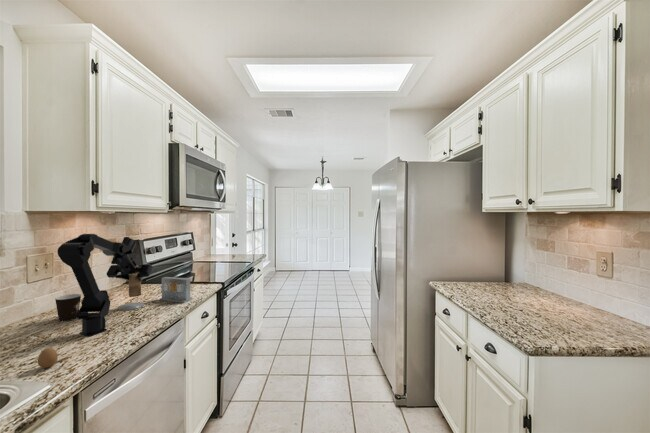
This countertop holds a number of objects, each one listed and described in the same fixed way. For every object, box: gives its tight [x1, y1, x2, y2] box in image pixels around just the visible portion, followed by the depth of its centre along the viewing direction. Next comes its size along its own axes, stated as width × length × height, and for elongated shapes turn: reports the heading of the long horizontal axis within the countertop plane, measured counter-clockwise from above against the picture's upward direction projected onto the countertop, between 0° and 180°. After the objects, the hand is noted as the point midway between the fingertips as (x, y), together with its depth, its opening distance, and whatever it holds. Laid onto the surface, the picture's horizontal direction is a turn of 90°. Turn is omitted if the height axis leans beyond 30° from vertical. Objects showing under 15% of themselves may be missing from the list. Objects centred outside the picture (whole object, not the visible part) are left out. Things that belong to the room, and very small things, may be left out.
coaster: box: [117, 301, 145, 312], centre depth 144 cm, size 11×11×1 cm
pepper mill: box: [128, 265, 142, 298], centre depth 144 cm, size 5×5×16 cm
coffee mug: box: [54, 293, 82, 322], centre depth 129 cm, size 12×9×10 cm
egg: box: [37, 347, 59, 369], centre depth 88 cm, size 4×4×6 cm
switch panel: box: [159, 276, 193, 304], centre depth 155 cm, size 6×16×12 cm, turn 76°
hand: (136, 279), depth 146 cm, fingers closed on pepper mill, 5 cm apart
